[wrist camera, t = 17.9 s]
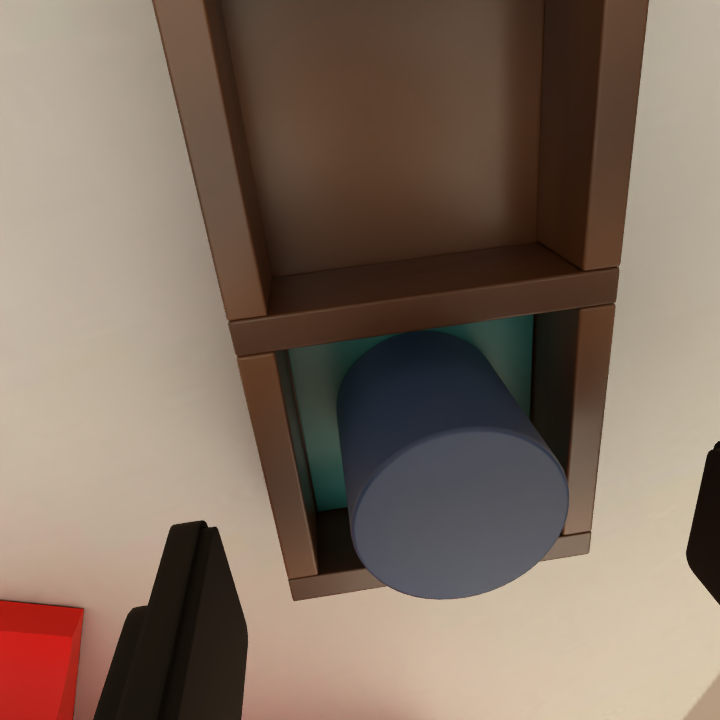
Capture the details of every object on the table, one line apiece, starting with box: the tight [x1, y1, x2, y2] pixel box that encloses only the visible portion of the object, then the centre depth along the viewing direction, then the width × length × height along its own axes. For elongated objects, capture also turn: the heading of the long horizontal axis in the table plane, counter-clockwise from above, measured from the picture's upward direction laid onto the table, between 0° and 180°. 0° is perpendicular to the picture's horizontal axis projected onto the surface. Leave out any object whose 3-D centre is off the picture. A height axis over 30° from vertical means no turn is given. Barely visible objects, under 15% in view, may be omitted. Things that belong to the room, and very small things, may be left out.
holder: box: [152, 0, 649, 601], centre depth 13 cm, size 15×8×3 cm, turn 6°
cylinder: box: [336, 331, 569, 600], centre depth 13 cm, size 4×4×4 cm
